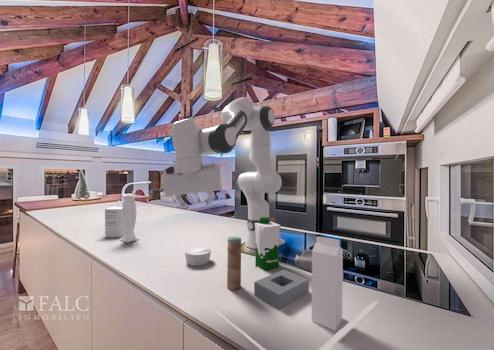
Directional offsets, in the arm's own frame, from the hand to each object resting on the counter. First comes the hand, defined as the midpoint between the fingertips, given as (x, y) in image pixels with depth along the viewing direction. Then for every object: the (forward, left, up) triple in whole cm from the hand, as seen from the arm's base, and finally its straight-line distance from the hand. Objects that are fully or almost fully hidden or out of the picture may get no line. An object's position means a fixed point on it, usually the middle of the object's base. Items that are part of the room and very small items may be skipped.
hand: (195, 205), depth 82 cm
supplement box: (+7, -86, -27) cm, 90 cm away
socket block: (-16, +26, -27) cm, 41 cm away
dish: (-44, +19, -27) cm, 55 cm away
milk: (-15, +42, -27) cm, 52 cm away
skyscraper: (+4, -68, -27) cm, 73 cm away
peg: (-7, +13, -27) cm, 31 cm away
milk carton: (-28, +8, -27) cm, 40 cm away
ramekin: (-10, -16, -27) cm, 33 cm away
